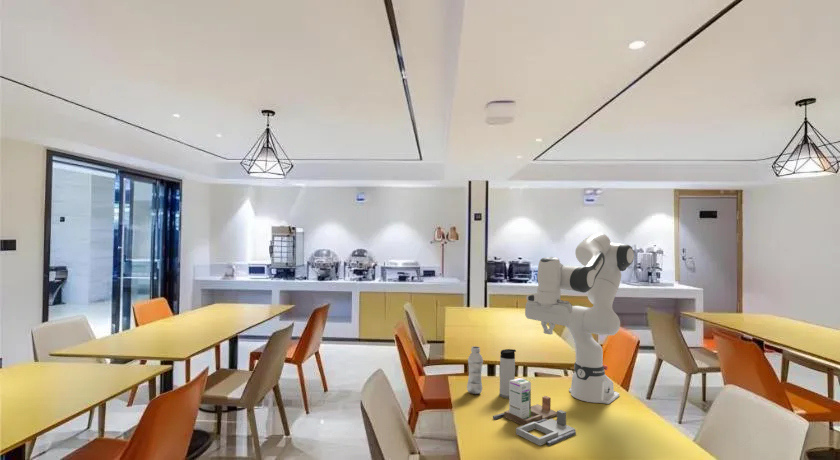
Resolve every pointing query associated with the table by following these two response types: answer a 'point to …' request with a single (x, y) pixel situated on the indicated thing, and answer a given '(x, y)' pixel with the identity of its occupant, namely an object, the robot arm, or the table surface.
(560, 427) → the grey sliding lid frame
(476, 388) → the plastic bottle
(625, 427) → the table surface
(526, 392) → the syrup box
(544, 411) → the brown flat tabbed frame
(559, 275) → the robot arm
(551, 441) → the lane rails
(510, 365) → the travel mug
